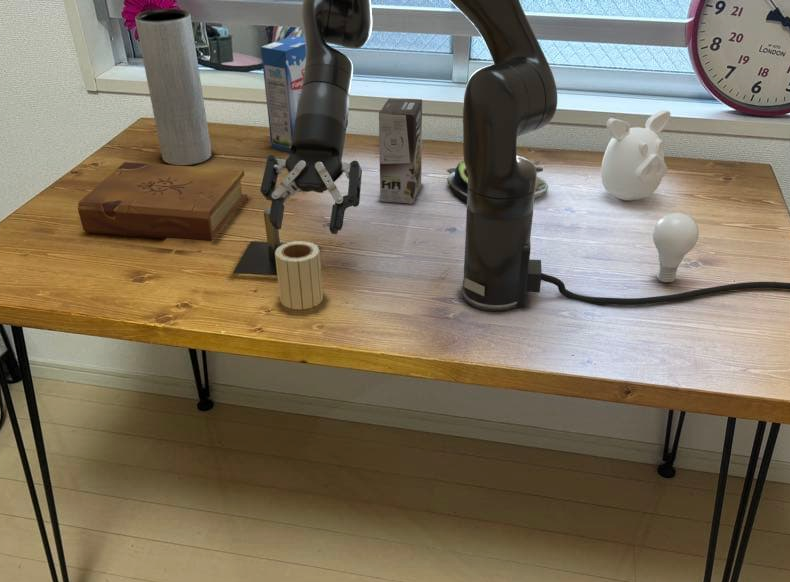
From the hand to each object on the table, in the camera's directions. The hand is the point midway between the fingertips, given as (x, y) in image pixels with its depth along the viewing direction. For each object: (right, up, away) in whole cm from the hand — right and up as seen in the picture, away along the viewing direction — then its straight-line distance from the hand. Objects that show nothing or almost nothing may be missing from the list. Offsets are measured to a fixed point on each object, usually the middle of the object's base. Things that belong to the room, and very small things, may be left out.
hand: (304, 229), depth 116 cm
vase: (-30, +26, +50) cm, 64 cm away
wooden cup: (-1, -10, +4) cm, 11 cm away
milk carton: (-8, +30, +56) cm, 64 cm away
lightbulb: (+54, -6, +8) cm, 55 cm away
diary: (-27, +8, +28) cm, 40 cm away
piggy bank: (+56, +13, +32) cm, 66 cm away
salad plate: (+31, +15, +35) cm, 50 cm away
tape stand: (-6, -2, +14) cm, 15 cm away
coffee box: (+14, +14, +35) cm, 40 cm away
